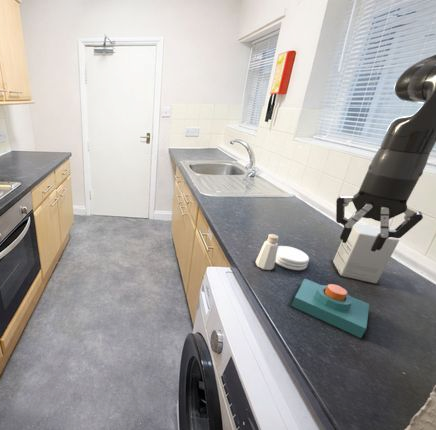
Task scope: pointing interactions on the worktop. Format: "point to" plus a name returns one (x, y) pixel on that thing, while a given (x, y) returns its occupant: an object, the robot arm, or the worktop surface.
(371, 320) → the worktop surface
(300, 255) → the white round stack
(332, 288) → the orange button cap
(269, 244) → the pepper shaker
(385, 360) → the worktop surface
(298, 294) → the button base
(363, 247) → the rectangular carton
